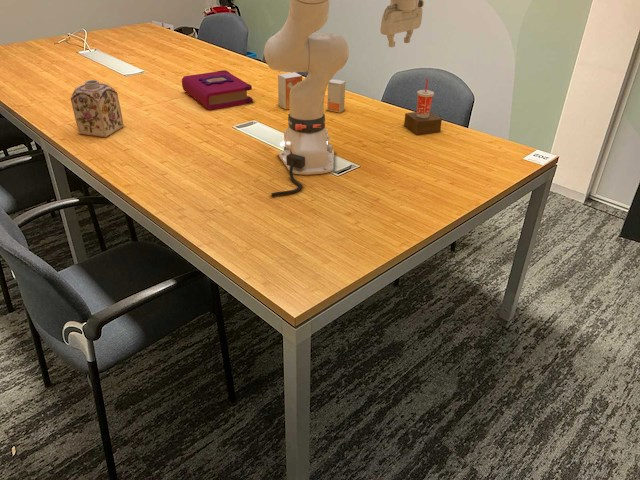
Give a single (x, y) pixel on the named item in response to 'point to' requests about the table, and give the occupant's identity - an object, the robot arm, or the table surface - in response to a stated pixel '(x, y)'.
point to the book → (217, 89)
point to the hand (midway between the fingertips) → (399, 44)
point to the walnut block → (422, 123)
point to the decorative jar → (96, 109)
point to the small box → (286, 87)
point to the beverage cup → (424, 102)
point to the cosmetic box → (336, 95)
